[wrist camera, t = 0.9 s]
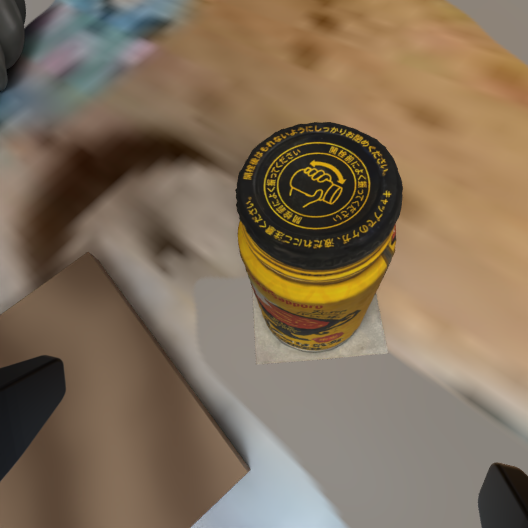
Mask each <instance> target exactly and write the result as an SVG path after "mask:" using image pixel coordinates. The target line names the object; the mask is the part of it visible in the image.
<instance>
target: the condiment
mask: <svg viewBox="0 0 528 528" xmlns="http://www.w3.org/2000/svg"><path fill="white" fill-rule="evenodd" d="M402 190H403V186H402V181H401V177H400V175H399V173H398V168H397V166H396V163H395V161H394V159H393V157H392V156H391V154H390V153H389V152H388V150H387V149H386V147H385V146H383V145H382V144H381V143H380V142H379V141H378V140H377V139H375V138H372V137H371V136H369V135H367V134H365V133H362V132H360V131H358V130H356V129H353V128H350V127H347V126H344V125H340V124H336V123H331V122H324V123H317V122H314V123H309V124H298V125H295V126H293V127H289V128H286V129H281V130H280V131H278V132H275V133H274V134H273V135H271V136H270V137H269V138H267V139H266V140H264V141H263V142H261V143H260V144H259V145H258V146H257V147H256V148H254V149H253V150H252V152H251V154H250V156H249V157H248V159H247V160H246V162H245V164H244V166H243V168H242V170H241V171H240V173H239V176H238V182H237V189H236V190H235V191H236V199H237V204H236V206H237V212H238V214H239V215H240V218H239V219H240V222H239V227H238V245H239V249H240V255H241V258H242V261H243V262H244V264H245V267H246V271H247V272H248V276H249V279H250V281H251V285H252V297H253V314H254V332H255V350H256V364H269V363H281V362H295V361H308V360H320V359H331V358H342V357H353V356H362V355H373V354H387V353H388V350H387V345H386V340H385V335H384V331H383V326H382V321H381V316H380V311H379V306H378V301H377V295H376V291H377V289H378V287H379V285H380V283H381V281H382V279H383V277H384V275H385V273H386V271H387V269H388V266H389V264H390V262H391V259H392V257H393V255H394V253H395V244H396V225H395V223H396V221H397V219H398V218H399V215H400V211H401V205H402Z"/></svg>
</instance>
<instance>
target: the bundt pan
mask: <svg viewBox="0 0 528 528" xmlns="http://www.w3.org/2000/svg"><path fill="white" fill-rule="evenodd" d="M25 17H26V8H25V1H24V0H0V92H1V91H2V90H4V89H5V87H6V85H7V80H8V79H7V72H6V70H7V69H8V68H10V67H11V66H12V65H13V64H14V63H15V62H16V61H17V60H18V58H19V57H20V55H21V53H22V50H23V46H24V40H25V34H24V22H25Z"/></svg>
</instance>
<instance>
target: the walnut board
mask: <svg viewBox="0 0 528 528" xmlns="http://www.w3.org/2000/svg"><path fill="white" fill-rule="evenodd" d="M41 355H48V356H53V357H57V358H60V359H61V360H62V361H63V364H64V372H65V381H66V392H65V395H64V397H63V399H62V401H61V402H60V404H59V405H58V406H57V408H56V409H55V411H54V412H53V413H52V415H51V416H50V418H49V419H48V420H47V422H46V423H45V424H44V426H43V427H42V429H41V430H40V431H39V433H38V434H37V436H36V437H35V438H34V440H33V441H32V442H31V444H30V445H29V447H28V448H27V449H26V451H25V452H24V453H23V455H22V456H21V457H20V459H19V460H18V461H17V462H16V464H15V465H14V466H13V467H12V469H11V470H10V471H9V472H8V473H7V475H6V476H5V477H4V478H3V479H2V480H1V481H0V528H190V527H191V526H193V525H194V524H195V523H196V522H197V521H198V520H199V519H200V518H201V517H202V516H203V515H204V514H205V513H206V512H207V511H208V510H209V509H210V508H211V507H212V506H213V505H214V504H216V503H217V502H218V501H219V500H220V499H221V498H222V497H223V496H224V495H225V494H226V493H227V492H228V491H229V490H230V489H231V488H232V487H233V486H234V485H235V484H236V483H238V482H239V481H240V480H241V479H242V478H243V477H244V476H245V475H246V474H247V473H248V472H249V471H250V468H249V467H248V466H247V464H246V463H245V462H244V460H243V459H242V457H241V456H240V455H239V453H238V452H237V451H236V449H235V448H234V446H233V445H232V444H231V442H230V441H229V440H228V438H227V437H226V435H225V434H224V433H223V431H222V430H221V429H220V427H219V426H218V424H217V423H216V422H215V420H214V419H213V418H212V416H211V415H210V413H209V412H208V411H207V409H206V408H205V407H204V405H203V404H202V402H201V401H200V400H199V398H198V397H197V396H196V394H195V393H194V391H193V390H192V389H191V387H190V386H189V385H188V383H187V382H186V380H185V379H184V378H183V376H182V375H181V374H180V372H179V371H178V369H177V368H176V367H175V365H174V364H173V363H172V361H171V360H170V358H169V357H168V356H167V354H166V353H165V352H164V350H163V349H162V347H161V346H160V345H159V343H158V342H157V341H156V339H155V338H154V336H153V335H152V334H151V332H150V331H149V330H148V328H147V327H146V325H145V324H144V323H143V321H142V320H141V319H140V317H139V316H138V314H137V313H136V312H135V310H134V309H133V308H132V306H131V305H130V303H129V302H128V301H127V299H126V298H125V297H124V295H123V294H122V292H121V291H120V290H119V288H118V287H117V286H116V284H115V283H114V281H113V280H112V279H111V277H110V276H109V275H108V273H107V272H106V270H105V269H104V268H103V266H102V265H101V264H100V262H99V261H98V260H97V259H96V258H95V257H94V256H93V255H92V254H90V253H89V252H87V253H86V254H84V255H83V256H81V257H80V258H79V259H77V260H76V261H75V262H73V263H72V264H70V265H69V266H68V267H66V268H65V269H63V270H62V271H61V272H59V273H58V274H57V275H55V276H54V277H52V278H51V279H50V280H48V281H47V282H45V283H44V284H43V285H41V286H40V287H38V288H37V289H36V290H34V291H33V292H32V293H30V294H29V295H27V296H26V297H25V298H23V299H22V300H20V301H19V302H18V303H16V304H15V305H14V306H12V307H11V308H9V309H8V310H7V311H5V312H4V313H2V314H1V315H0V368H2V367H5V366H9V365H12V364H15V363H18V362H22V361H25V360H28V359H31V358H35V357H38V356H41Z"/></svg>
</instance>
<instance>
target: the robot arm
mask: <svg viewBox="0 0 528 528" xmlns="http://www.w3.org/2000/svg"><path fill="white" fill-rule="evenodd" d="M65 392H66V381H65V372H64V364H63V361H62V360H61V359H60V358H57V357H53V356H48V355H41V356H38V357H35V358H31V359H28V360H25V361H22V362H18V363H15V364H12V365H9V366H5V367H2V368H0V481H1V480H2V479H3V478H4V477H5V476H6V475H7V473H8V472H9V471H10V470H11V469H12V467H13V466H14V465H15V464H16V462H17V461H18V460H19V459H20V457H21V456H22V455H23V453H24V452H25V451H26V449H27V448H28V447H29V445H30V444H31V442H32V441H33V440H34V438H35V437H36V436H37V434H38V433H39V431H40V430H41V429H42V427H43V426H44V424H45V423H46V422H47V420H48V419H49V418H50V416H51V415H52V413H53V412H54V411H55V409H56V408H57V406H58V405H59V404H60V402H61V401H62V399H63V397H64V395H65ZM478 508H479V513H480V520H481V525H482V528H528V476H527V475H526V474H525V473H524V472H523V471H522V470H520V469H519V468H517V467H515V466H510V465H505V464H502V463H493V464H492V465H491V466H490V468H489V470H488V473H487V475H486V478H485V480H484V483H483V485H482V487H481V490H480V493H479V498H478Z"/></svg>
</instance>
